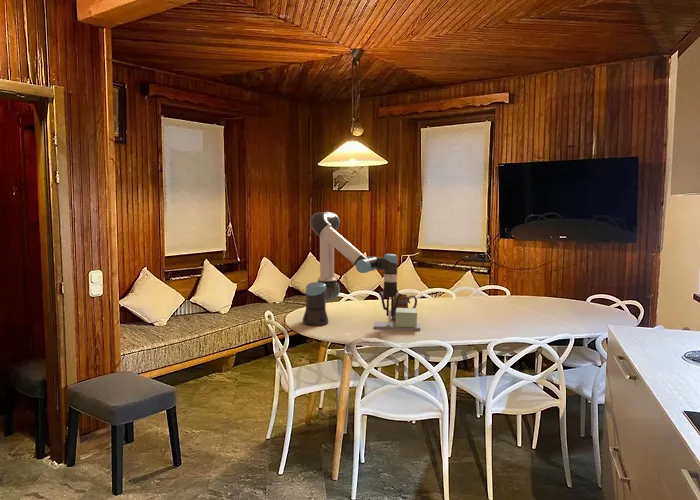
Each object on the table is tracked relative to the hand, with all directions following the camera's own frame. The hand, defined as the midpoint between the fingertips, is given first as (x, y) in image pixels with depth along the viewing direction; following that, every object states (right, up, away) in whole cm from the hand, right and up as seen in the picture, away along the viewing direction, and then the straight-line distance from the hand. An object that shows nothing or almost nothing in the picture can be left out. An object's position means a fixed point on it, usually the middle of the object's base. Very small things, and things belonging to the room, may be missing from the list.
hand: (389, 321), depth 317 cm
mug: (+10, -1, +20) cm, 23 cm away
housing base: (+4, -3, 0) cm, 5 cm away
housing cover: (+9, -2, 0) cm, 9 cm away
